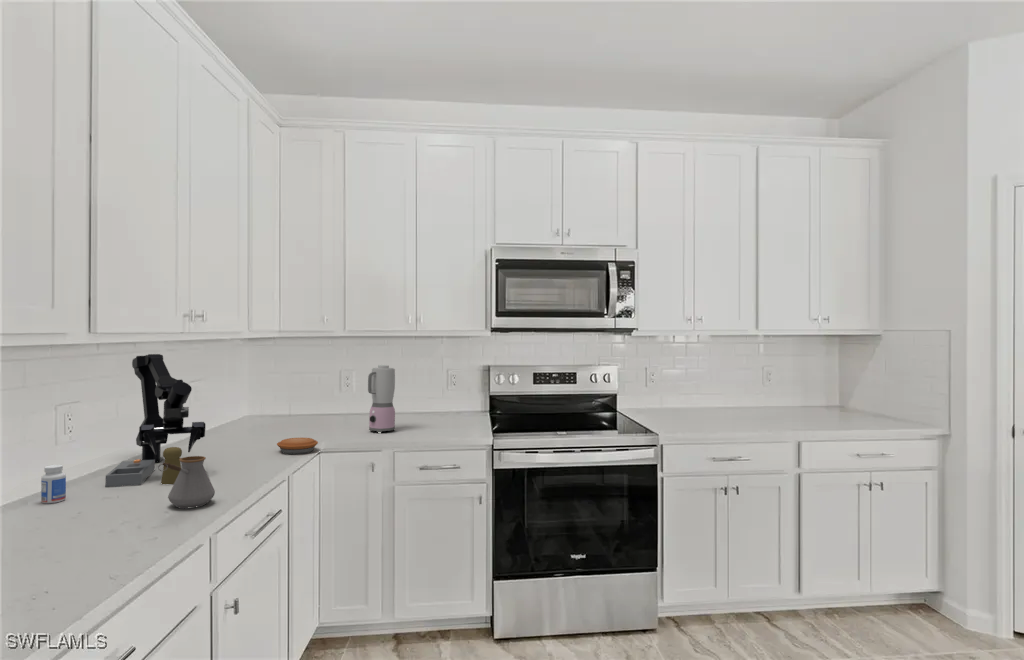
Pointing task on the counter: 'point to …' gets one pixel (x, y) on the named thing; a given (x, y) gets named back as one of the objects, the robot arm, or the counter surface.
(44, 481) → the pill bottle
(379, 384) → the blender
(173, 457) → the cork
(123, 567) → the counter surface
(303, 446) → the pie
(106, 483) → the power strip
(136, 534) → the counter surface
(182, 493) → the coffee pot
